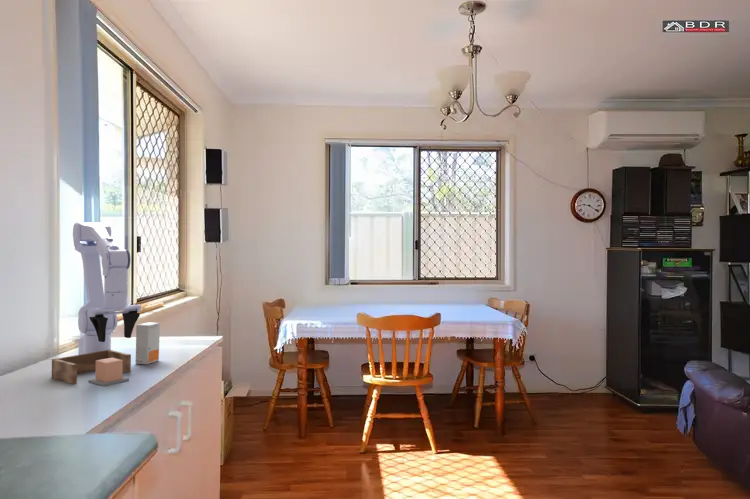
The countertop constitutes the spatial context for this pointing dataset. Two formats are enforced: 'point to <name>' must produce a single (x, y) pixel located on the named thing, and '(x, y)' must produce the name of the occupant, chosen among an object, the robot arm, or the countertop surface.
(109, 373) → the block
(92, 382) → the mat
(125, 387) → the countertop surface
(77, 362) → the open box
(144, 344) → the skincare box
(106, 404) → the countertop surface
